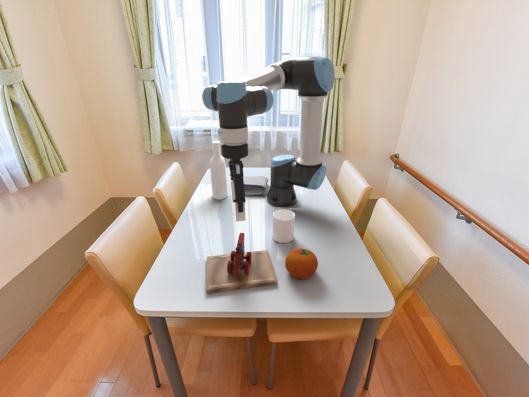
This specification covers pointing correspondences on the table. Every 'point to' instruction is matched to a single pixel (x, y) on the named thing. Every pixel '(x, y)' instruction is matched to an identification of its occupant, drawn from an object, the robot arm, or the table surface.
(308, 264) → the fruit
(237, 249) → the toy fire truck
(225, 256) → the board
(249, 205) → the table surface
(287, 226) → the mug
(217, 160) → the bottle
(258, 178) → the towel
